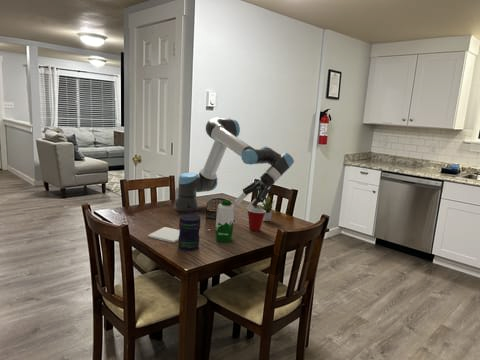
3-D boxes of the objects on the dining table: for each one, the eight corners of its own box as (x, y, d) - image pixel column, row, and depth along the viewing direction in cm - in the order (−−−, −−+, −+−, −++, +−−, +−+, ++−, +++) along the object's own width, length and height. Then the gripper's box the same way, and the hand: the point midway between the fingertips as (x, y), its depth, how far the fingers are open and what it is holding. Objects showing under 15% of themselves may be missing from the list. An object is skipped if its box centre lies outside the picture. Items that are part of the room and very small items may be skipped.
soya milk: (232, 237, 184) (235, 200, 180) (231, 243, 175) (234, 204, 171) (215, 235, 184) (218, 199, 180) (214, 242, 175) (216, 203, 171)
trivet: (164, 228, 188) (164, 226, 188) (189, 234, 183) (189, 232, 183) (148, 236, 174) (148, 235, 174) (174, 242, 169) (174, 241, 169)
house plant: (249, 216, 223) (251, 191, 220) (269, 216, 227) (272, 192, 224) (257, 224, 209) (260, 197, 206) (278, 223, 214) (281, 197, 211)
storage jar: (192, 242, 172) (194, 213, 170) (202, 249, 165) (204, 218, 162) (174, 245, 166) (175, 215, 164) (184, 252, 159) (185, 221, 156)
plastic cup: (266, 229, 202) (268, 209, 199) (260, 234, 192) (262, 213, 189) (249, 225, 205) (251, 205, 203) (242, 230, 196) (244, 209, 193)
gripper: (286, 187, 173) (257, 218, 170) (262, 177, 195) (236, 204, 192) (278, 176, 170) (248, 208, 166) (255, 168, 192) (228, 195, 189)
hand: (241, 206), depth 179 cm, fingers open, 13 cm apart
